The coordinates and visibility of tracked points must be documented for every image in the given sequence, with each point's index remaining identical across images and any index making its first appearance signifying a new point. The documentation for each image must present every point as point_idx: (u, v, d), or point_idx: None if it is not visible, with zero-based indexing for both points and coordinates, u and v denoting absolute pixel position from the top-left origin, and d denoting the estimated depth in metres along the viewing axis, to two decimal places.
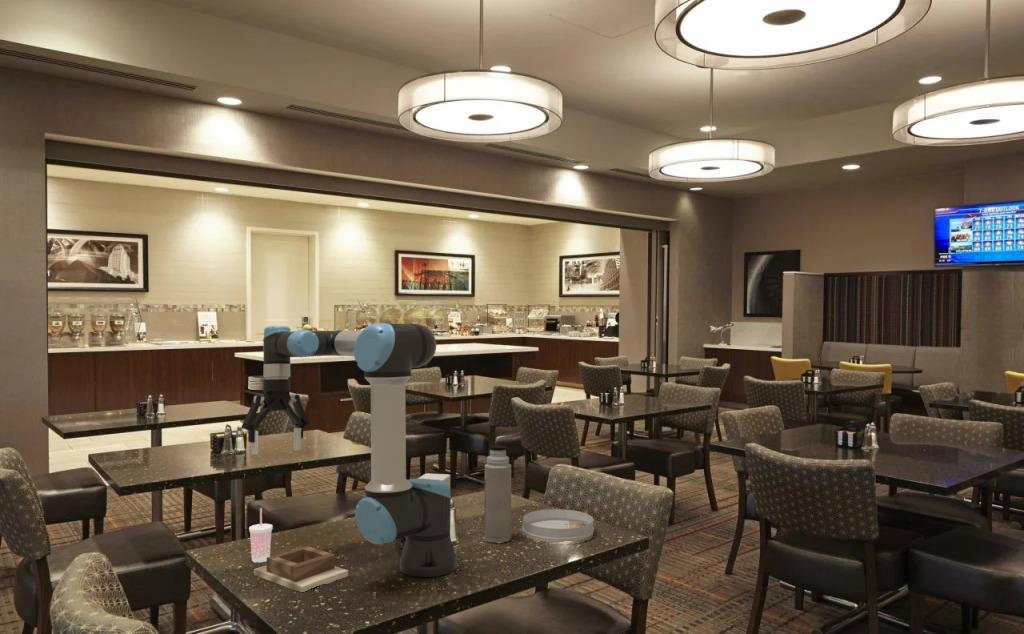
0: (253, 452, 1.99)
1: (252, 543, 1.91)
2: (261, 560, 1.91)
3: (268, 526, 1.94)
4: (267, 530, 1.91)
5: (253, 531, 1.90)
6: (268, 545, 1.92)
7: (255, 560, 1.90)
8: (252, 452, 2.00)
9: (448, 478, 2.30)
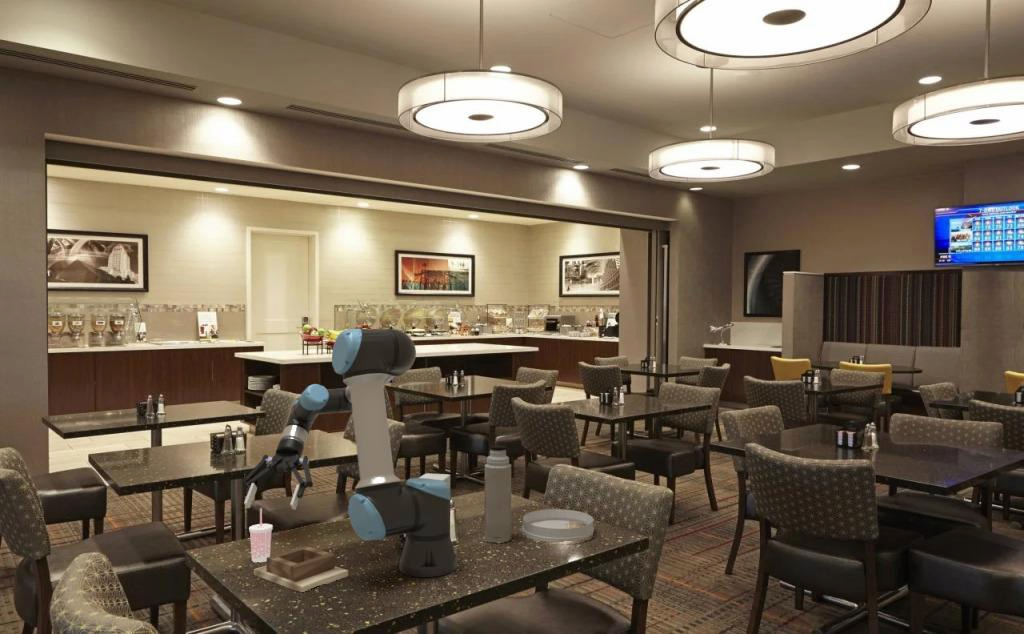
0: None
1: (251, 543, 1.91)
2: (261, 560, 1.91)
3: (268, 526, 1.94)
4: (267, 530, 1.91)
5: (253, 531, 1.90)
6: (268, 545, 1.92)
7: (255, 560, 1.90)
8: None
9: (448, 478, 2.30)
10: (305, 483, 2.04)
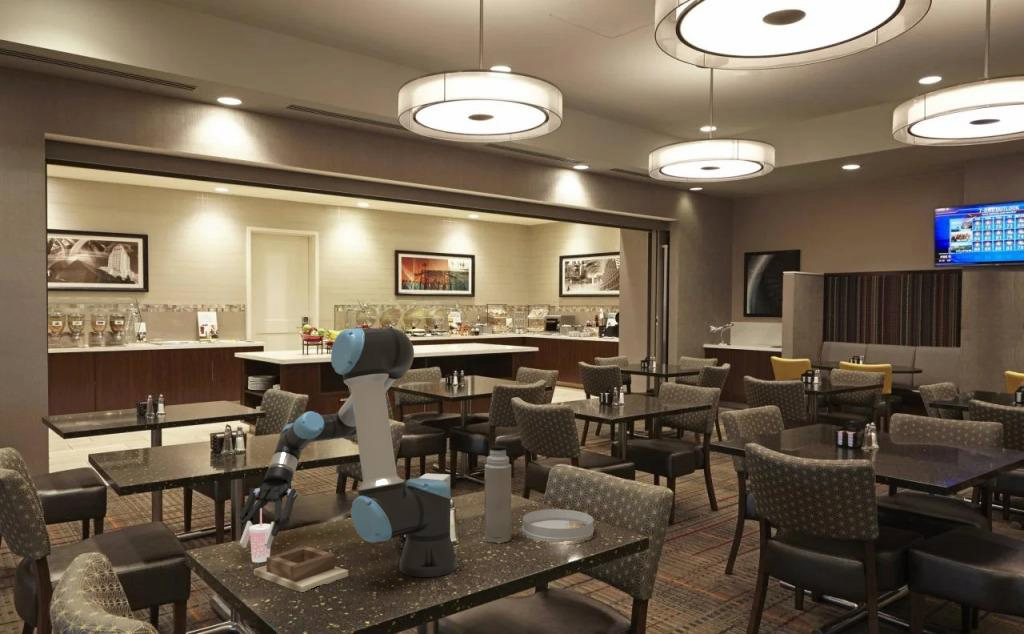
0: None
1: (251, 543, 1.91)
2: (261, 560, 1.91)
3: (268, 526, 1.94)
4: (267, 530, 1.91)
5: (253, 531, 1.90)
6: None
7: (255, 560, 1.90)
8: None
9: (448, 478, 2.30)
10: (280, 521, 1.93)
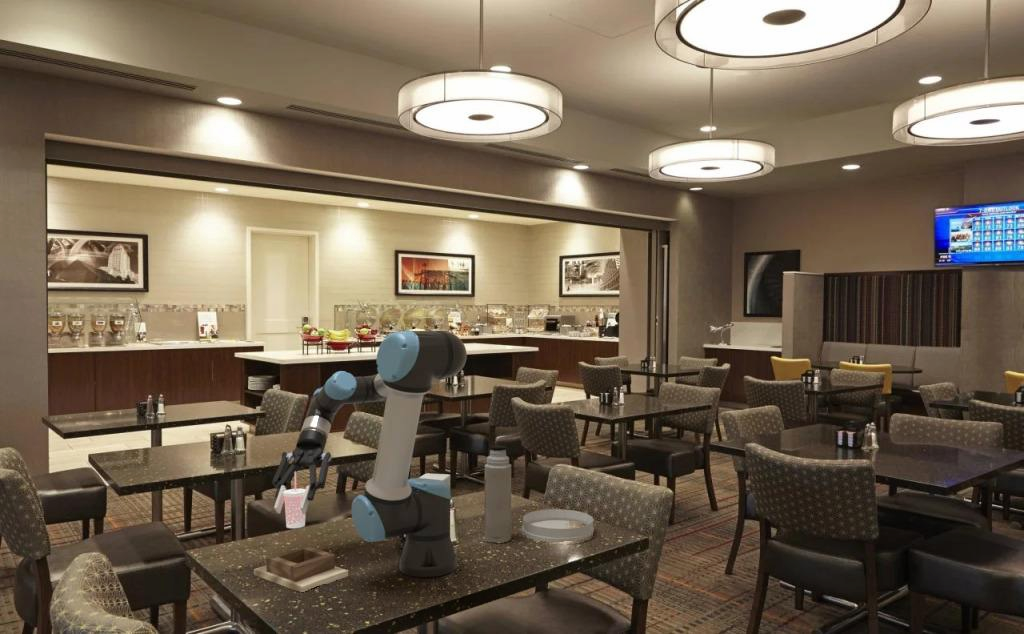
0: None
1: (286, 508, 1.80)
2: (296, 526, 1.80)
3: (303, 490, 1.83)
4: (302, 494, 1.81)
5: (288, 495, 1.80)
6: None
7: (290, 526, 1.80)
8: None
9: (448, 478, 2.30)
10: (315, 485, 1.83)
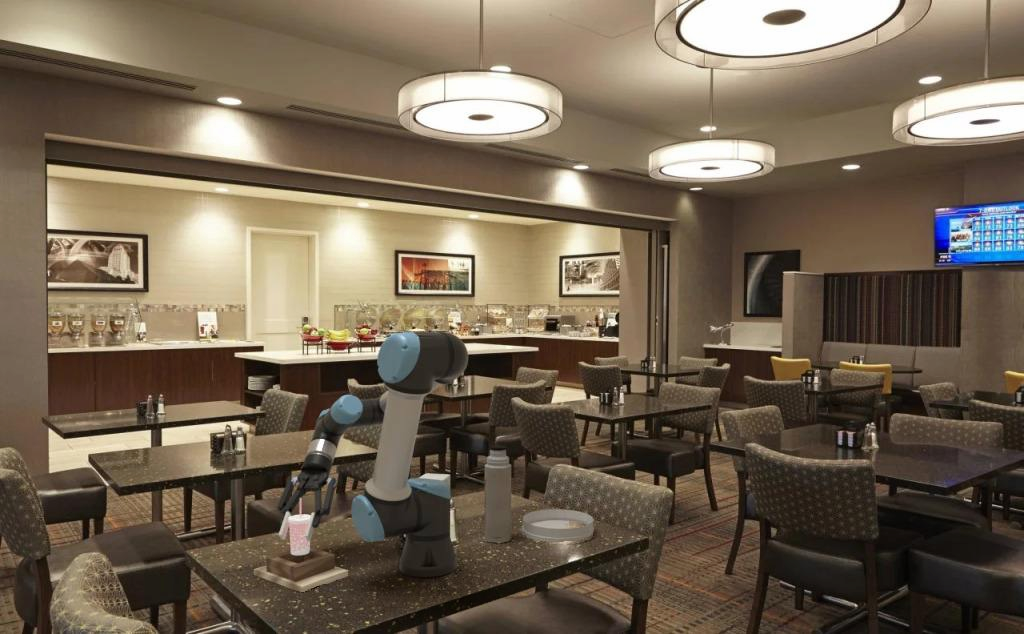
0: None
1: (291, 535, 1.79)
2: (301, 553, 1.79)
3: (308, 517, 1.82)
4: (307, 521, 1.79)
5: (293, 522, 1.78)
6: None
7: (295, 553, 1.79)
8: None
9: (448, 478, 2.30)
10: (321, 512, 1.81)
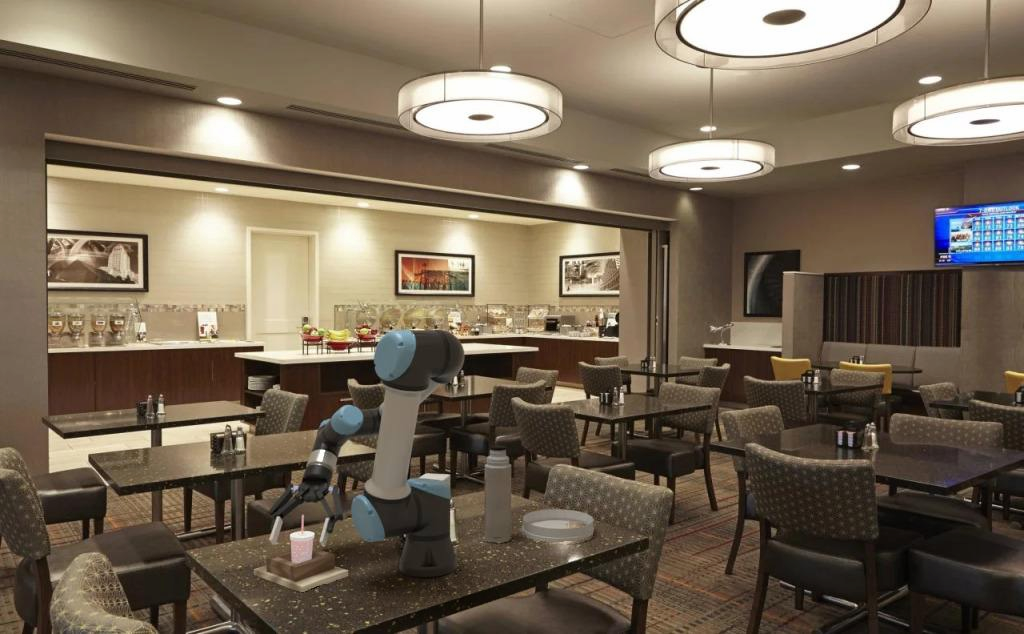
0: None
1: (292, 552, 1.79)
2: None
3: (310, 534, 1.81)
4: (309, 538, 1.79)
5: (295, 539, 1.78)
6: (310, 554, 1.80)
7: None
8: None
9: (448, 478, 2.30)
10: (335, 516, 1.82)
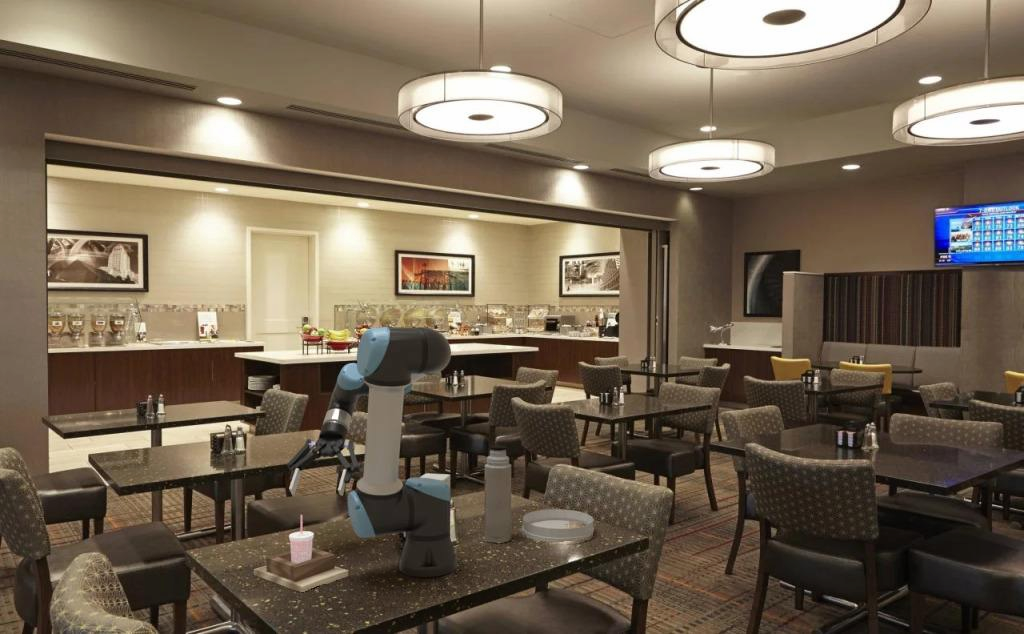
0: None
1: (292, 552, 1.79)
2: None
3: (309, 534, 1.81)
4: (309, 538, 1.79)
5: (294, 539, 1.78)
6: (309, 554, 1.80)
7: None
8: None
9: (448, 478, 2.30)
10: (352, 468, 1.95)
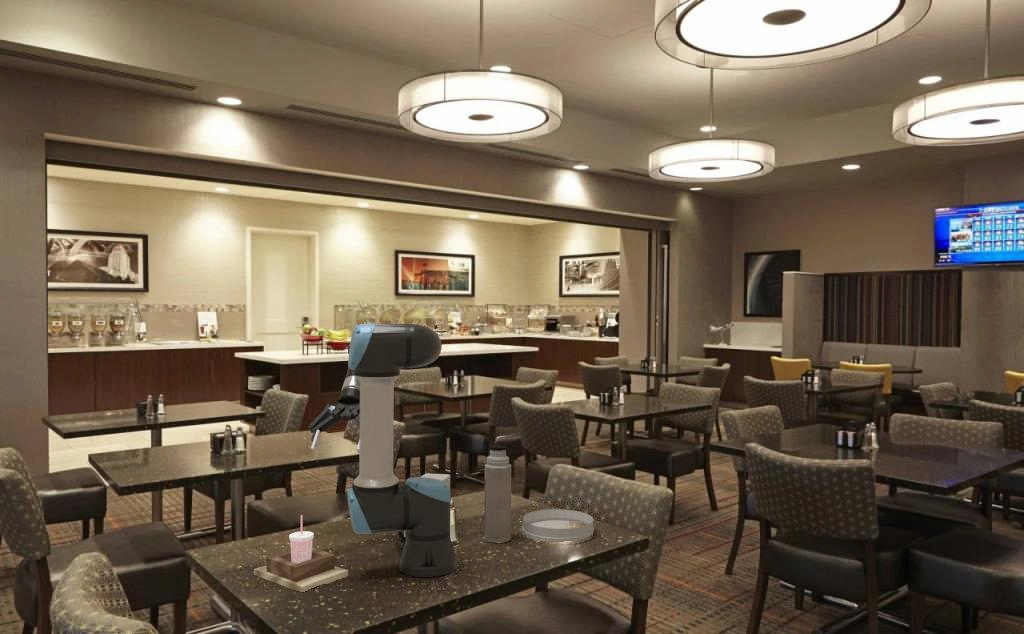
0: None
1: (292, 552, 1.79)
2: None
3: (309, 534, 1.81)
4: (309, 538, 1.79)
5: (294, 539, 1.78)
6: (309, 554, 1.80)
7: None
8: None
9: (448, 478, 2.30)
10: None
